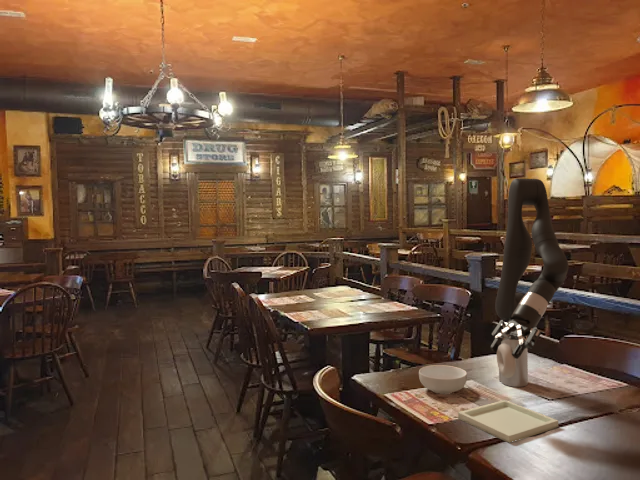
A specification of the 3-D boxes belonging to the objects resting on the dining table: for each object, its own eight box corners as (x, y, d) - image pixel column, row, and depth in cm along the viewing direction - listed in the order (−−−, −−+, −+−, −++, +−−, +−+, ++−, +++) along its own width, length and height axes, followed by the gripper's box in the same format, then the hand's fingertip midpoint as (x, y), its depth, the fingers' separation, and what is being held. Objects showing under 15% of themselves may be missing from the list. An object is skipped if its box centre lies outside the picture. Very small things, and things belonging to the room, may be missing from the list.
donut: (518, 382, 147) (516, 348, 147) (506, 383, 147) (504, 349, 147) (507, 370, 157) (505, 339, 157) (496, 371, 157) (493, 340, 157)
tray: (458, 418, 157) (458, 412, 157) (504, 405, 166) (504, 399, 166) (509, 443, 140) (509, 436, 140) (558, 427, 149) (558, 420, 149)
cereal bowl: (448, 402, 171) (448, 382, 171) (409, 391, 184) (409, 371, 183) (476, 390, 182) (476, 370, 182) (437, 380, 195) (437, 361, 194)
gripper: (505, 299, 161) (478, 341, 156) (543, 306, 148) (516, 351, 144) (517, 314, 164) (491, 355, 159) (556, 322, 151) (529, 367, 146)
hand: (503, 353), depth 151 cm, fingers closed on donut, 7 cm apart
